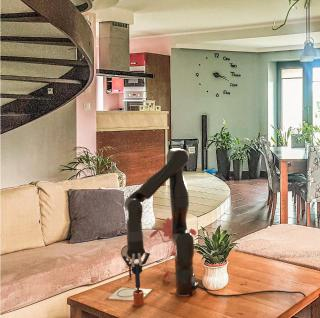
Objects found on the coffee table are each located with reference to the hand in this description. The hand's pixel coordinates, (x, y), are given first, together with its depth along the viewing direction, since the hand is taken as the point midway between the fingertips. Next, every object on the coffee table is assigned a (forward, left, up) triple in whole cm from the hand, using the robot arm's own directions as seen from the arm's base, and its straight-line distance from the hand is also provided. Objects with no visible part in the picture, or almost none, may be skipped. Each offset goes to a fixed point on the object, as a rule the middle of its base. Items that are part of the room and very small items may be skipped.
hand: (137, 273), depth 213 cm
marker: (0, 0, -9) cm, 9 cm away
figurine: (-4, -37, -16) cm, 40 cm away
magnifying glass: (+20, -31, -17) cm, 40 cm away
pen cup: (0, 0, -16) cm, 16 cm away
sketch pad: (+10, -11, -16) cm, 22 cm away
